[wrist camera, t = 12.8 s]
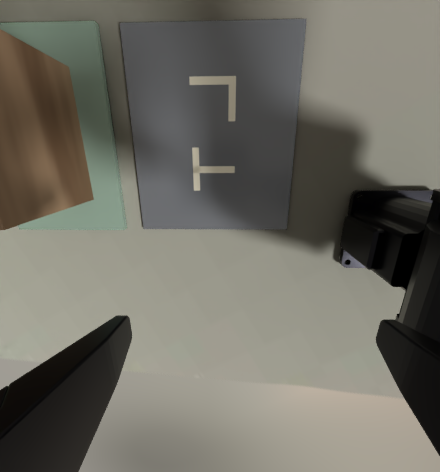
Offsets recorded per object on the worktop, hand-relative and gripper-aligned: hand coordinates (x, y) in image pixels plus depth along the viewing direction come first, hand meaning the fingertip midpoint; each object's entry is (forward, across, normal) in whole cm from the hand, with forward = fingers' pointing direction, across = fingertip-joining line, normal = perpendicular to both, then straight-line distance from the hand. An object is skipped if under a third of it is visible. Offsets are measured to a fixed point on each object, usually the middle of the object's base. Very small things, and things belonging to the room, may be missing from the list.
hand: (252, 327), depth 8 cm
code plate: (+12, +2, -7) cm, 14 cm away
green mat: (+12, +14, -7) cm, 20 cm away
